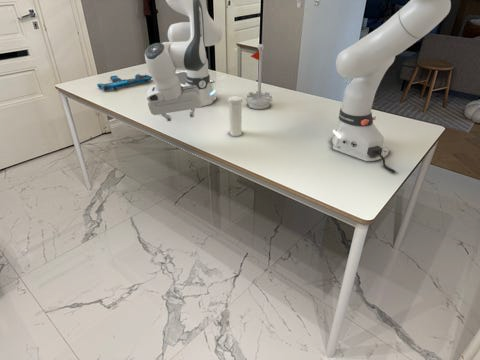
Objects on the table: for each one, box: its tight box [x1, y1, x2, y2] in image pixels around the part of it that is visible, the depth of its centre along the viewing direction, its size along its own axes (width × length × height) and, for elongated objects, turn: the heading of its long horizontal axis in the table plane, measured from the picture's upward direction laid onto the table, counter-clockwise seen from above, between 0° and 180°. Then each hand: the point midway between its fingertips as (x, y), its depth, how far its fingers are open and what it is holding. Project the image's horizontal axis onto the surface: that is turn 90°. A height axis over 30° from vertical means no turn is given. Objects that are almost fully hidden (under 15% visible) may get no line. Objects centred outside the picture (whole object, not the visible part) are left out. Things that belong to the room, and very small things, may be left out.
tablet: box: [175, 70, 215, 87], centre depth 214 cm, size 32×20×1 cm, turn 41°
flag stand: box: [245, 43, 273, 110], centre depth 168 cm, size 13×13×30 cm
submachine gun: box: [96, 73, 153, 91], centre depth 207 cm, size 34×4×25 cm
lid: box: [227, 95, 243, 104], centre depth 139 cm, size 6×6×2 cm
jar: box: [228, 102, 243, 137], centre depth 143 cm, size 5×5×16 cm
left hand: (181, 118), depth 134 cm, fingers open, 8 cm apart
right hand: (308, 6), depth 134 cm, fingers open, 8 cm apart
